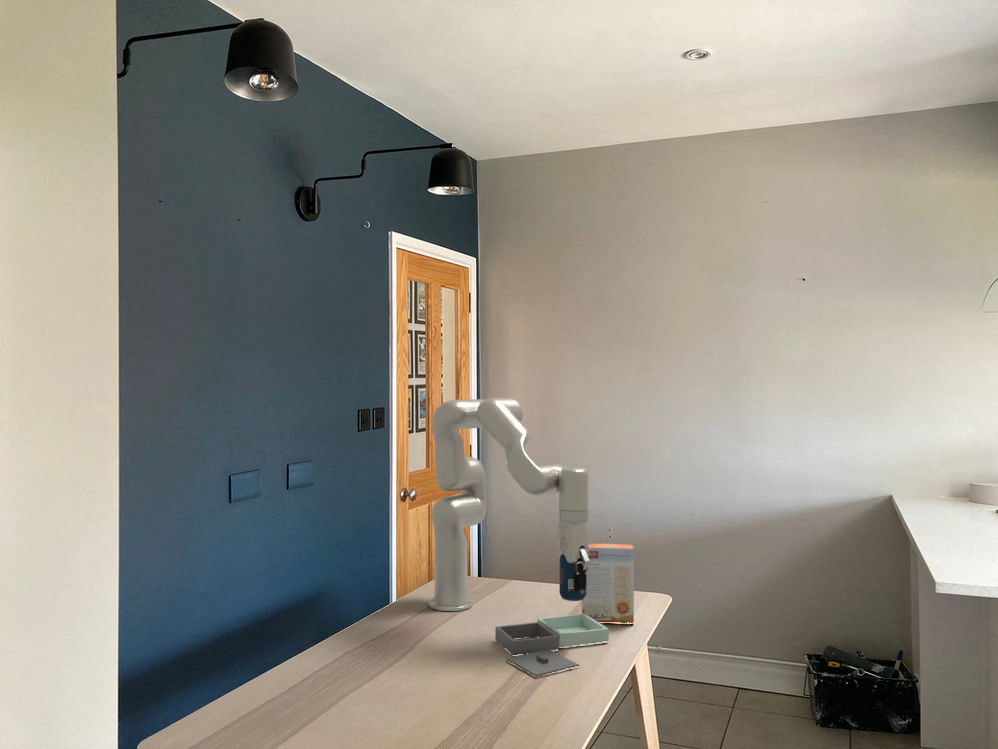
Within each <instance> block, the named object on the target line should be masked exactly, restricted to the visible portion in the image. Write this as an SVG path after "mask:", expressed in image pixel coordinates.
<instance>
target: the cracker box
mask: <svg viewBox="0 0 998 749" xmlns="http://www.w3.org/2000/svg"><path fill="white" fill-rule="evenodd" d="M588 559H589V561H590V564H589V566H588V569H587V594H586V596H585V598H584V599H583V600H581V614H586V615H587V616H589V617H591V618H592V619H594V620H595V621H597V622H621V623H627V622H629V623H630V622H631V623H633V622H634V623H635V621H634V620H635V619H634V617H635V613H634V612H635V610H634V608H635V602H634V601H635V600H634V599H635V597H634V596H635V591H634V590H635V582H634V581H635V580H634V579H635V572H634V571H635V566H634V565H635V563H634V562H635V548H634V546H633V544H629V543H628V544H627V543H626V544H625V543H623V544H622V543H621V544H620V543H619V544H618V543H589V556H588Z"/></svg>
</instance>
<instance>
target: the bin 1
mask: <svg viewBox="0 0 998 749" xmlns="http://www.w3.org/2000/svg"><path fill="white" fill-rule="evenodd" d="M494 632H495V635H494V636H495V640H496V641H497V642H498V643H500V644H501V645H502V646H503V647H504V648H506V649H507V650H508V651H509V652H510V653H511V654H512V655H518V654H527V653H532V652H537V651H541V650H546V649H549V650H556V649H559V636H558V635H556V634H555V633H554V632H552V631H551V630H550V629H548V628H547V627H546V626H544V625H543V624H541V623H540V622H537V621H535V622H527V623H526V622H525V623H518V624H517V623H516V624H508V625H499V626H495V631H494ZM535 636H538V637H539V638H538V637H535ZM524 637H535V638H526V639H518V640H514V639H515V638H524ZM496 641H495V642H496ZM497 642H496V643H497ZM498 643H497V644H498ZM502 646H501V647H502ZM503 647H502V648H503ZM504 648H503V649H504ZM559 650H560V649H559Z"/></svg>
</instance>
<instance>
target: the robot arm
mask: <svg viewBox="0 0 998 749" xmlns="http://www.w3.org/2000/svg"><path fill="white" fill-rule="evenodd" d="M523 418H524V411H523V407H522V405H521V404H520V403H519V402H518V400H516V399H514V398H511V397H492V398H483V399H482V398H480V399H477V398H476V399H473V398H472V399H465V398H464V399H462V398H461V399H453V400H448V401H444V402H443V403H441V404H440V405H439V406H438V407H437V408H436V410H435V411H434V413H433V416H432V420H431V421H432V423H431V424H432V426H431V427H432V433H433V434H432V435H433V437H434V438H433V439H434V440H433V441H434V461H435V462H434V464H435V481H436V486H437V487H438V489H439V490H441V491H443V492H457V491H460V494H455V495H450V496H444V497H442V498H440V499H438V500H437V501H435V503H434V504H433V506H432V510H431V520H432V526H433V533H434V595H433V596H434V597H433V598H431V599H430V600H429V601H428V607H430V608H431V609H432V610H436V611H440V612H441V611H442V612H459V611H465V610H468V609H470V608H471V607H473V600H472V598H469V597H468V562H469V561H468V558H469V556H468V552H469V551H468V548H469V547H468V540H467V537H466V534H465V533H464V530H463V529H464V528H467V527H472V526H475V525H478V524H481V522H483V521H484V519H485V518H486V513H487V484H486V483H487V482H486V480H487V479H486V478H487V477H486V472H485V468H484V466H483V464H482V463H481V461H480V460H479V459H477V458H476V457H473V456H465V443H464V439H463V438H462V435H461V433H460V432H459V431H460V430H465V429H467V430H468V429H469V430H470V429H485V430H486V431H487V433H488V434H489V435H490V436H491V437H492V438H493V439H494V440H495V442H496V443H497V444H498V445H499V447H500V448H501V449H502V450H503V451H504V455H505V457H504V458H505V463H506V467H507V470H508V472H509V474H510V476H511V477H512V479H513V480H515V482H516V483H517V484H518V486H519V487H520V488H521V489H522V490H523V491H524V492H526V493H527V494H529V495H532V496H535V497H538V496H539V497H540V496H546V495H551V494H557V493H558V523H557V531H556V532H557V533H556V544H555V545H556V546H555V547H556V549H555V552H556V553H555V554H556V557H558V559H560V556H561V555H562V554H564V555H565V557H566V560H567V562H568V563H571V564H573V563H574V569H575V574H574V590H585V589H586V574H587V569H588V566H589V564H590V561H589V559H588V556H589V544H590V543H589V531H588V523H589V472H588V470H587V469H586V468H583V467H576V466H575V467H573V466H572V467H570V466H565V465H563V464H562V465H561V464H558V463H555V464H554V463H553V464H544V465H536V464H535V463H534V462H533V461H532V460H531V459H530V457H529V456H528V455H527V453H526V451H525V449H524V448H526V446H527V444H528V443H529V441H530V439H531V438H530V437H531V434H530V431H529V430H528V429H527V428H526V427H525V425H524V424H523V423H521V422H522V420H523ZM563 552H564V553H563ZM578 558H581V559H582V561H577V559H578ZM578 564H582V565H580V567H579V568H578Z"/></svg>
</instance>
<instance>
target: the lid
mask: <svg viewBox="0 0 998 749" xmlns="http://www.w3.org/2000/svg"><path fill="white" fill-rule="evenodd" d="M506 660H507V661H509V662H511V663H513V664H515V665H516V666H518V667H520V668H522V669H523V670H525V671H527V672H529V673H530V674H532V675H534V676H536V677H538V676H542V675H545V674H548V673H552V672H556V671H559V670H563V669H566V668H571V667H575V666H579V667H580V664H579V663H576V662H575V661H572V660H571V659H568V658H567V657H564V656H562V655H561V654H559V653H557V652H553V651H551V650H549V649H546V650H541V651H537V652H532V653H528V654H523V655H519V656H514V657H513V656H510V657H506ZM506 660H505V661H506Z"/></svg>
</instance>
